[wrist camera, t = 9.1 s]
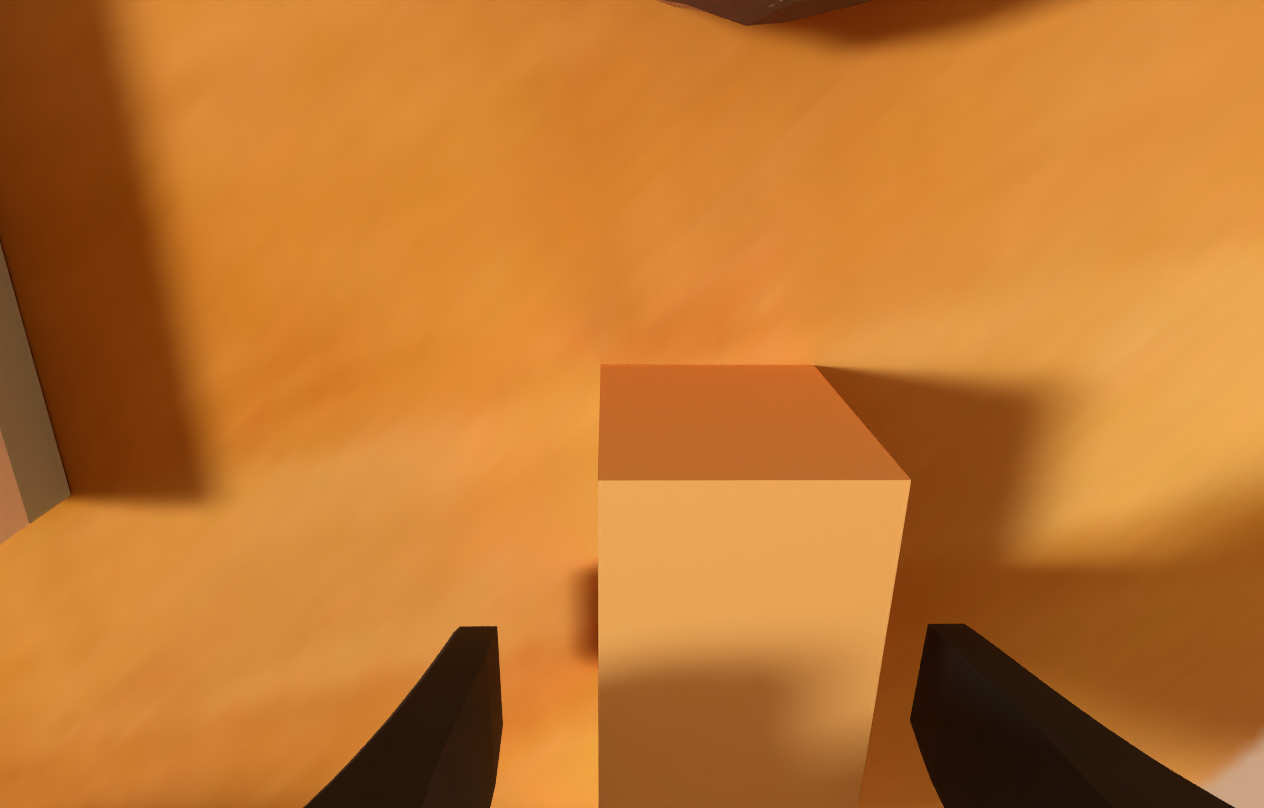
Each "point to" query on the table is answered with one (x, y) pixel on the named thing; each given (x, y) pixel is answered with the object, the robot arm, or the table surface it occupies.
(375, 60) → the table surface
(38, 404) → the comb board
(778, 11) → the donut
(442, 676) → the robot arm
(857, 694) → the wooden block
